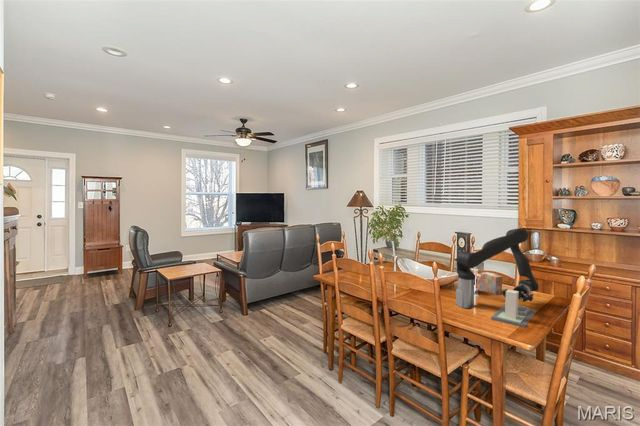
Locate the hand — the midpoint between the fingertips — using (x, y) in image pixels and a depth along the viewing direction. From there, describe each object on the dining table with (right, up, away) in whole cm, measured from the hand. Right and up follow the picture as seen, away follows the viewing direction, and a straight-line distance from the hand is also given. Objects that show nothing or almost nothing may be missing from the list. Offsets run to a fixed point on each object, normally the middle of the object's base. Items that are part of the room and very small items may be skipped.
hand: (514, 298), depth 176 cm
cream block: (-4, -9, -4) cm, 11 cm away
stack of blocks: (+10, -8, +50) cm, 52 cm away
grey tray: (+1, -11, +2) cm, 11 cm away
